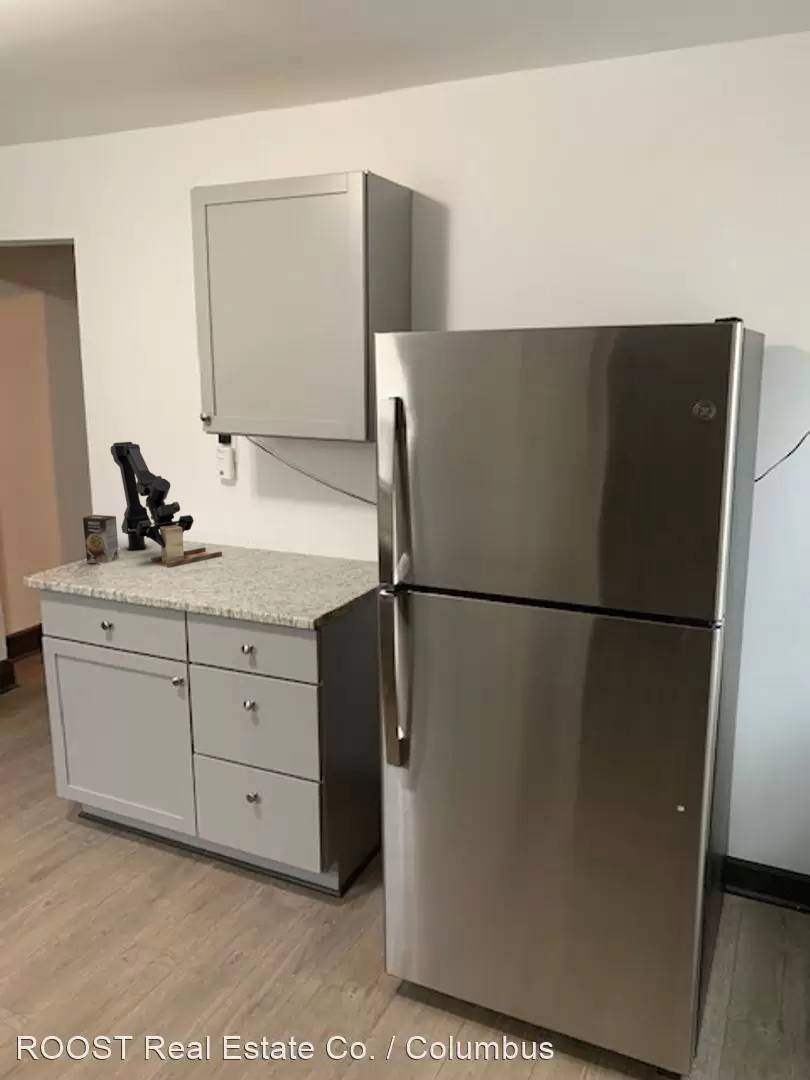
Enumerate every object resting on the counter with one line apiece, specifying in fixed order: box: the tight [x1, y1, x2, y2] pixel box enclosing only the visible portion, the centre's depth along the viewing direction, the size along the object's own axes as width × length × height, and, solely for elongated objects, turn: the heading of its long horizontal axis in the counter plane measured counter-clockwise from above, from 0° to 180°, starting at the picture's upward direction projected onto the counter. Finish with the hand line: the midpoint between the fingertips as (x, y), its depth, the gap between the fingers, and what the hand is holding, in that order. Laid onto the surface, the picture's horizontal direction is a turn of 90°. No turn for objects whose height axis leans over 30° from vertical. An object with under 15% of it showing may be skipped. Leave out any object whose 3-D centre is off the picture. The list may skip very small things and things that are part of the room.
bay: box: [150, 546, 223, 569], centre depth 287 cm, size 21×11×2 cm, turn 137°
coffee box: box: [82, 514, 120, 565], centre depth 287 cm, size 9×6×16 cm
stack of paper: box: [159, 525, 184, 564], centre depth 282 cm, size 6×6×12 cm
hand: (173, 546), depth 281 cm, fingers closed on stack of paper, 6 cm apart
